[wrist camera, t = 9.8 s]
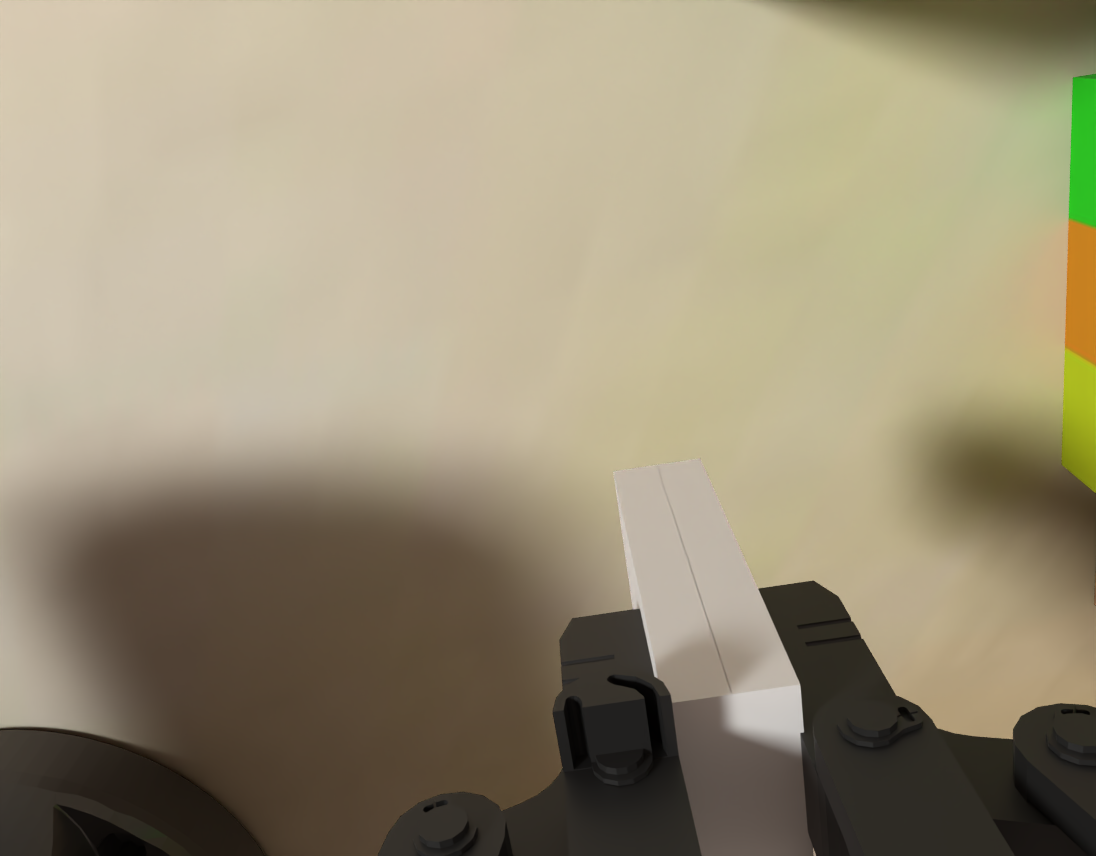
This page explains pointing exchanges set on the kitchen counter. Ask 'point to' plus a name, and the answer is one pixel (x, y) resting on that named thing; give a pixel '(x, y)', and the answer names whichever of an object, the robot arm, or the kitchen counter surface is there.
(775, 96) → the kitchen counter surface
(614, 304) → the kitchen counter surface
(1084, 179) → the puzzle toy
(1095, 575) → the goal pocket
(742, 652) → the robot arm
